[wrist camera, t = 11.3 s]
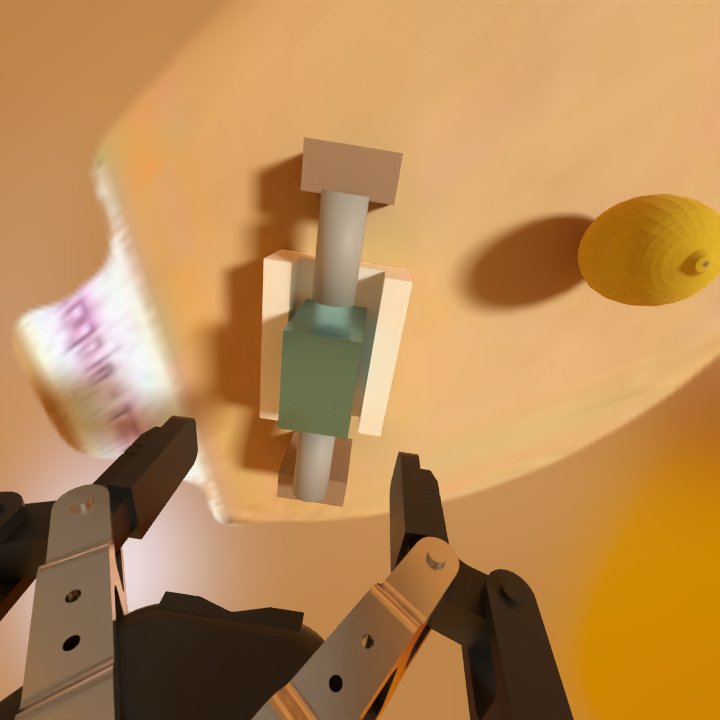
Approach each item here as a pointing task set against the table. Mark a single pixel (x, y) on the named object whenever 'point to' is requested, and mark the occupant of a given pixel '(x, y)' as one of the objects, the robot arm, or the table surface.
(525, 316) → the table surface
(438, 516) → the robot arm
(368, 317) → the shaft rig
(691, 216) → the lemon
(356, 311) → the green rectangular block
